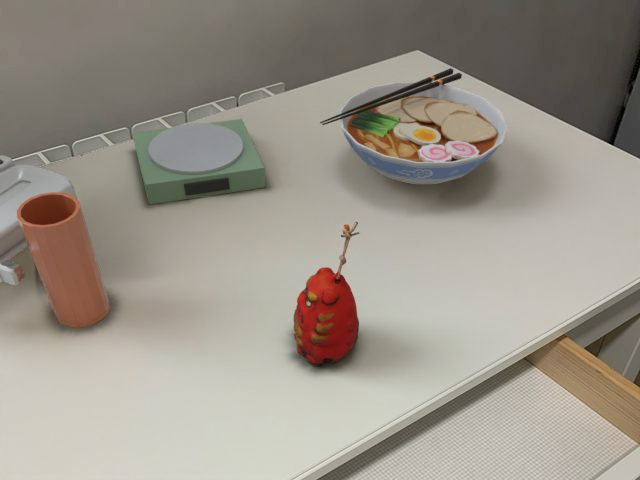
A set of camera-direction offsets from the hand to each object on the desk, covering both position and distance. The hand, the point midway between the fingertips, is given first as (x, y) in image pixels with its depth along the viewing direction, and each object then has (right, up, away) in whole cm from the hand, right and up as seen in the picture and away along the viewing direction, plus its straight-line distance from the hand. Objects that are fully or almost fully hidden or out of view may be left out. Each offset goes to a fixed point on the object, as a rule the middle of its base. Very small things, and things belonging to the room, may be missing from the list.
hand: (50, 251), depth 71 cm
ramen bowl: (+43, +18, +25) cm, 52 cm away
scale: (+12, +18, +24) cm, 32 cm away
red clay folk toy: (+29, -10, +2) cm, 31 cm away
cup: (+2, -5, +5) cm, 7 cm away
